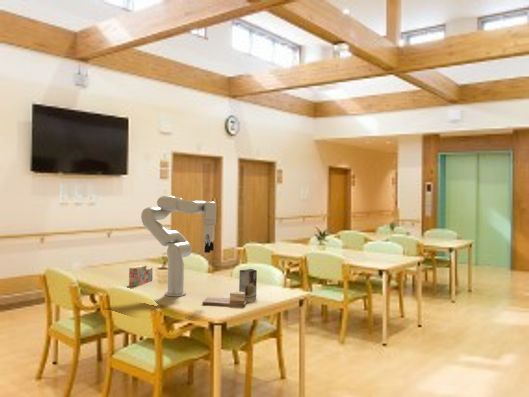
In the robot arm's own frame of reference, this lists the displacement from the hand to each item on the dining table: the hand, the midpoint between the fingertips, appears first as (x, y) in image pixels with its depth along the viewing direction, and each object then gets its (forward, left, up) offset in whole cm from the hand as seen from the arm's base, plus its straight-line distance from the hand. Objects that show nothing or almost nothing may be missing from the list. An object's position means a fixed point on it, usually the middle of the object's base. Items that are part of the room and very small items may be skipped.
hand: (209, 251), depth 277 cm
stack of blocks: (-36, -54, -29) cm, 71 cm away
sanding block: (+8, +19, -27) cm, 34 cm away
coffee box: (-13, +22, -28) cm, 38 cm away
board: (+8, +12, -28) cm, 32 cm away
